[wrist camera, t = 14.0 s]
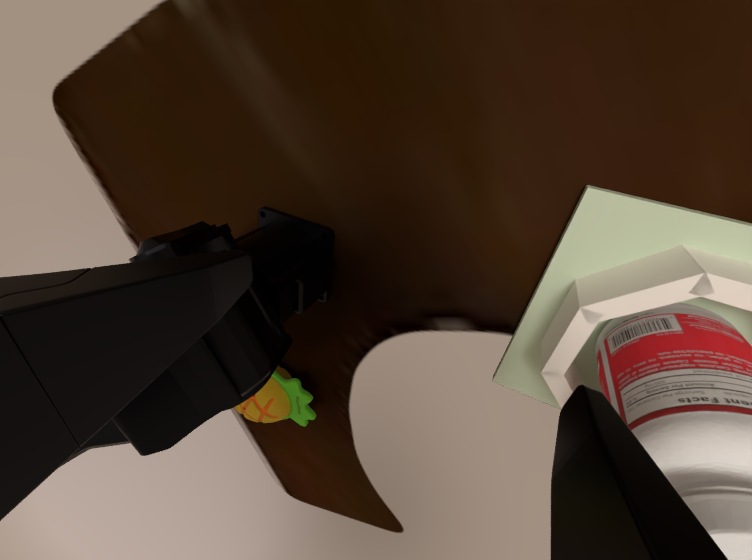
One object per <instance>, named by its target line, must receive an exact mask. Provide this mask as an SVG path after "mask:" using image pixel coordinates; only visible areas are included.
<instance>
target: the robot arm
mask: <svg viewBox="0 0 752 560" xmlns="http://www.w3.org/2000/svg"><path fill="white" fill-rule="evenodd" d="M264 213H265V214H264ZM265 215H266V216H265ZM230 232H231V230H230V228H229V226H228V224H224V225H222V226H219V227H216V225H215V224H214V225H212V226H210V225H208V224H207V223H205V222H203V221H202V222H199V223H197V224H194V225H191V226H189V227H186V228H183V229H180V230H177V231H173V232H170V233H166V234H162V235H159V236H155V237H152V238H149V239H146V240H144V241H142V242H141V243H140V246H139V249H138V252H137V255H136V256H134V257H133V258H130V259H129V261H130V262H131V263H126V264H119V265H110V266H102V267H94V268H92V269H91V268H87V269H78V270H70V271H61V272H52V273H43V274H33V275H22V276H11V277H0V521H1V519H3V518H4V517H5V516H6V515H7V514H8V513H9V512H10V511H11V510H13V509H14V508H15V507H16V506H17V505H18V504H19V503H20V502H21V501H22V500H23V499H25V498H26V497H27V496H28V495H29V494H30V493H31V492H32V491H33V490H34V489H36V488H37V487H38V486H39V485H40V484H41V483H42V482H43V481H44V480H45V479H46V478H48V476H50V475H51V474H52V473H53V472H54V471H55V470H56V469H57V468H59V467H60V466H62V465H64V464H65V463H67V462H68V461H70V460H72V459H73V458H75V457H77V456H78V455H80V454H82V453H84V452H85V451H87V450H89V449H92V448H98V447H106V446H113V445H120V444H127V443H131V444H132V445H133V446H134V447H135V449H136V450H137V451H138V452H139V454H140V455H142V456H145V455H149V454H153V453H156V452H160V451H163V450H166V449H169V448H171V447H172V446H174V445H175V444H176V443H178V442H179V441H180V440H181V439H183V438H184V437H185V436H187V435H188V434H189V433H191V432H192V431H193V430H194V429H196V428H197V427H198V426H200V425H201V424H203V423H204V422H205V421H207V420H208V419H210V418H212V417H213V416H215V415H216V414H218V413H220V412H221V411H224V410H228V409H231V408H233V407H235V406H238V405H239V404H241V403H243V402H245V401H246V400H248V399H249V398H251V397H252V396H254V395H255V394H256V393H257V392H258V391H259V390H261V389H262V388H263V387H264V385H265V384H266V383H267V382H268V381H269V379H270V378H271V376H272V374H273V373H274V371H275V370H276V368H277V366H278V365H279V363H280V361H281V360H282V358H283V357H284V355H285V353H286V352H287V350H288V349H289V347H290V345H291V344H292V342H293V340H292V339H291V337H290V335H289V334H287V333H286V331H285V329H284V327H283V325H282V324H283V323H284V322H286V321H287V320H288V319H289V318H290V317H291V316H292V315H294V314H295V313H298V314H301V313H303V312H304V311H305V310H306V309H308V308H309V307H310V306H311V305H312V304H313V303H314V302H315V301H319V302H322V303H324V302H326V301H327V300H328V299H329V290H330V288H331V286H332V274H333V262H334V260H333V258H332V252H333V239H334V234H333V231H332V230H331V229H330V228H328V227H325V226H322V225H319V224H316V223H313V222H310V221H307V220H304V219H301V218H298V217H295V216H292V215H289V214H286V213H283V212H280V211H277V210H274V209H271V208H268V207H262V208H260V209H259V210H258V229H256V230H253V231H251V232H249V233H247V234H245V235H243V236H241V237H239V238H237V239H234V238H233V236H232V235H231V233H230ZM325 233H327V235H328V237H326V235H325ZM322 296H323V297H322ZM551 560H728V559H727V557H726V556H725V555H724V553H723V552H722V551H721V549H720V548H719V547H718V545H717V544H716V543H715V541H714V540H713V539H712V537H711V536H710V535H709V533H708V532H707V531H706V529H705V528H704V527H703V525H702V524H701V523H700V521H699V520H698V519H697V517H696V516H695V515H694V513H693V512H692V511H691V509H690V508H689V507H688V505H687V504H686V503H685V501H684V500H683V499H682V497H681V496H680V495H679V493H678V492H677V491H676V489H675V488H674V487H673V486H672V484H671V483H670V482H669V480H668V479H667V478H666V476H665V475H664V474H663V472H662V471H661V470H660V468H659V467H658V466H657V464H656V463H655V462H654V460H653V459H652V458H651V456H650V455H649V454H648V452H647V451H646V450H645V448H644V447H643V446H642V444H641V443H640V442H639V440H638V439H637V438H636V436H635V435H634V434H633V432H632V431H631V430H630V428H629V427H628V426H627V424H626V423H625V422H624V420H623V419H622V418H621V416H620V415H619V414H618V413H617V411H616V410H615V409H614V407H613V406H612V405H611V403H610V402H609V401H608V399H607V398H606V397H605V395H604V394H603V393H602V392H601V391H599V390H597V389H594V388H592V387H589V386H586V385H583V384H582V385H579V386H577V387H576V389H575V390H574V392H573V393H572V394H571V396H570V397H569V399H568V400H567V401H566V403H565V404H564V406H563V407H562V409H561V412H560V416H559V423H558V431H557V438H556V446H555V454H554V462H553V469H552V479H551Z"/></svg>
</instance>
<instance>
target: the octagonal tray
mask: <svg viewBox="0 0 752 560" xmlns="http://www.w3.org/2000/svg"><path fill="white" fill-rule="evenodd" d="M673 303H681V304H688V305H693V306H697V307H701V308H704V309H707V310H709V311H712V312H714V313H716V314H718V315H720V316H721V317H723V318H724V319H726V320H727V321H729V322H730V323H731V324H732V325H733V326H734V327H735V328H736V329H737V330H738V331H739V332H740V333H741V334H742V335H743V337H744V338H745V339H746V340H747V341H748V342H749V344H750V345H751V346H752V223H748V222H743V221H739V220H735V219H731V218H726V217H722V216H718V215H713V214H709V213H705V212H701V211H696V210H692V209H688V208H684V207H679V206H675V205H671V204H667V203H662V202H658V201H654V200H650V199H645V198H641V197H637V196H633V195H628V194H624V193H620V192H615V191H611V190H607V189H603V188H598V187H594V186H590V185H586V187H585V189H584V191H583V193H582V195H581V197H580V199H579V202H578V204H577V206H576V208H575V210H574V212H573V214H572V216H571V218H570V220H569V222H568V224H567V226H566V228H565V230H564V232H563V234H562V236H561V238H560V240H559V242H558V244H557V247H556V249H555V251H554V253H553V255H552V257H551V259H550V261H549V263H548V265H547V267H546V269H545V271H544V273H543V275H542V277H541V279H540V281H539V283H538V285H537V287H536V289H535V292H534V294H533V296H532V298H531V300H530V302H529V304H528V306H527V308H526V310H525V312H524V314H523V316H522V318H521V320H520V322H519V324H518V326H517V328H516V330H515V332H514V334H513V337H512V339H511V341H510V343H509V345H508V347H507V349H506V351H505V353H504V355H503V357H502V359H501V361H500V363H499V365H498V367H497V369H496V372H495V373H494V375H493V382H496V383H498V384H501V385H503V386H506V387H508V388H510V389H513V390H515V391H517V392H520V393H523V394H525V395H527V396H529V397H532V398H534V399H537V400H539V401H542V402H544V403H546V404H549V405H551V406H554V407H556V408H558V409H562V407H563V406H564V404H565V403H566V401H567V400H568V399H569V397H570V396H571V394H572V393H573V392H574V390H575V389H576V387H577V386H579V385H582V384H583V385H586V386H589V387H592V388H594V389H597V390H599V391H601V392H602V390H601V385H600V379H599V374H598V369H597V363H596V355H595V347H596V342H597V339H598V337H599V335H600V333H601V331H602V330H603V329H604V327H605V326H606V325H607V324H608V323H609V322H610V321H611V320H613V319H614V318H617V317H621V316H625V315H629V314H633V313H637V312H641V311H645V310H649V309H653V308H657V307H661V306H665V305H669V304H673Z"/></svg>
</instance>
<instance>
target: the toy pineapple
mask: <svg viewBox="0 0 752 560" xmlns="http://www.w3.org/2000/svg"><path fill="white" fill-rule="evenodd" d="M312 400H313V396H312V395H311V394H310V393H309V392H307V391H305V390H304V389H303V388H302V386H301V382H300V380H299V379H297V378H292V377H291V375H290V374H289V373H288V372H287V371H286V370H285V369H284V368H280V366H279V365H278V366H277V368H276V370H275V371H274V373H273V374H272V376H271V378H270V379H269V381H268V382H267V383H266V384H265V385H264V387H263V388H262V389H261V390H259V391H258V392H257V393H256V394H255V395H254V396H252V397H251V398H249V399H248V400H246V401H245V402H243V403H241V404H239V405H238V406H235V409H236V410H237V411H238V412H239V413H240V414H244V417H245V418H247V419H249V420H251V421H254V422H261V421H262V422H263V423H271V422H276V421H279V420H283V419H288V418H291V419H293V420H294V421H295V422H297V423H298V424H300V425H301V426H306V425H307V424H308V420H314V419H315V417H316V414H315V412H314V411H313V410H312V409H311V408H310V407H309V405H308V404H309V403H310V402H311V401H312Z"/></svg>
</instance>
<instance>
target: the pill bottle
mask: <svg viewBox="0 0 752 560" xmlns="http://www.w3.org/2000/svg"><path fill="white" fill-rule="evenodd" d="M595 355H596V363H597V369H598V374H599V379H600V385H601V390H602V393H603V394H604V395H605V397H606V398H607V399H608V401H609V402H610V403H611V405H612V406H613V407H614V409H615V410H616V411H617V413H618V414H619V415H620V416H621V418H622V419H623V420H624V422H625V423H626V424H627V426H628V427H629V428H630V430H631V431H632V432H633V434H634V435H635V436H636V438H637V439H638V440H639V442H640V443H641V444H642V446H643V447H644V448H645V450H646V451H647V452H648V454H649V455H650V456H651V458H652V459H653V460H654V462H655V463H656V464H657V466H658V467H659V468H660V470H661V471H662V472H663V474H664V475H665V476H666V478H667V479H668V480H669V482H670V483H671V484H672V486H673V487H674V488H675V489H676V491H677V492H678V493H679V495H680V496H681V497H682V499H683V500H684V501H685V503H686V504H687V505H688V507H689V508H690V509H691V511H692V512H693V513H694V515H695V516H696V517H697V519H698V520H699V521H700V523H701V524H702V525H703V527H704V528H705V529H706V531H707V532H708V533H709V535H710V536H711V537H712V539H713V540H714V541H715V543H716V544H717V545H718V547H719V548H720V549H721V551H722V552H723V553H724V555H725V556H726V557H727V559H728V560H752V346H751V345H750V344H749V342H748V341H747V340H746V339H745V338H744V337H743V335H742V334H741V333H740V332H739V331H738V330H737V329H736V328H735V327H734V326H733V325H732V324H731V323H730V322H729V321H727V320H726V319H724V318H723V317H721V316H720V315H718V314H716V313H714V312H712V311H709V310H707V309H704V308H701V307H697V306H693V305H688V304H681V303H673V304H669V305H665V306H661V307H657V308H653V309H649V310H645V311H641V312H637V313H633V314H629V315H625V316H621V317H617V318H614V319H613V320H611V321H610V322H609V323H608V324H607V325H606V326H605V327H604V329H603V330H602V331H601V333H600V335H599V337H598V339H597V342H596V347H595Z"/></svg>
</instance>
